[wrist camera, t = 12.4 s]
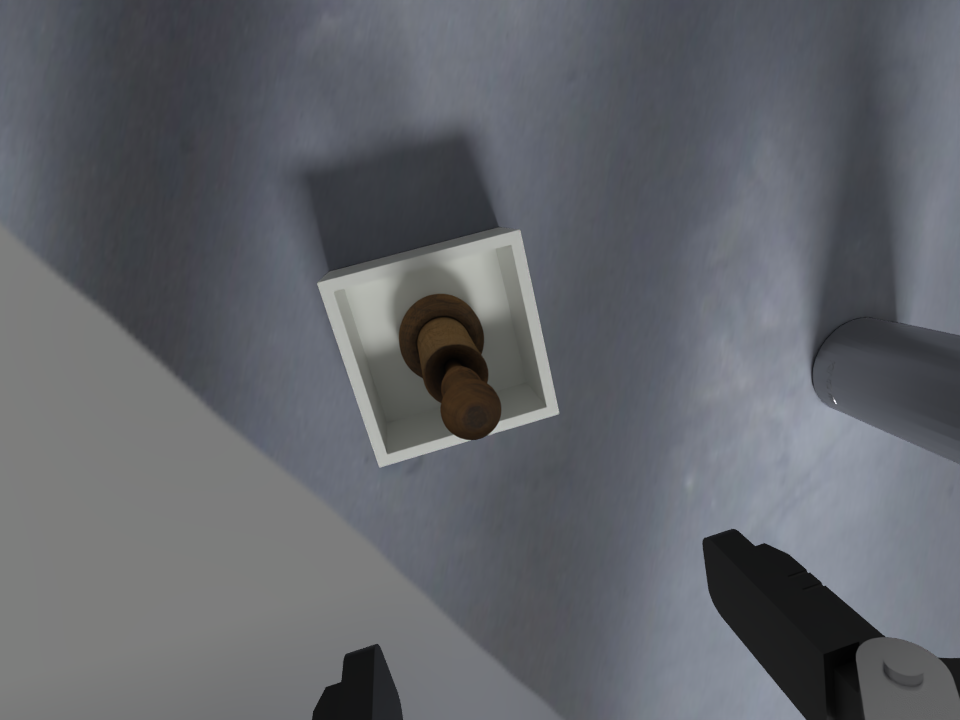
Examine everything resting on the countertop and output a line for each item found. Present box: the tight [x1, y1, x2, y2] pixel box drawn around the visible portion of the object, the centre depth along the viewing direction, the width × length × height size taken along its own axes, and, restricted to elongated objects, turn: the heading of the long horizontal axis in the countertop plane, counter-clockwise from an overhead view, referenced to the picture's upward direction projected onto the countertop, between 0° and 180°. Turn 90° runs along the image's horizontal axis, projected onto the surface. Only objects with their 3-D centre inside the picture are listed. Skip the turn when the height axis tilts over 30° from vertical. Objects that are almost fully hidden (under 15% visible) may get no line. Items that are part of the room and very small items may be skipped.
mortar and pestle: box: [399, 294, 501, 440], centre depth 33 cm, size 7×6×18 cm
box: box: [317, 227, 559, 468], centre depth 39 cm, size 14×14×7 cm
